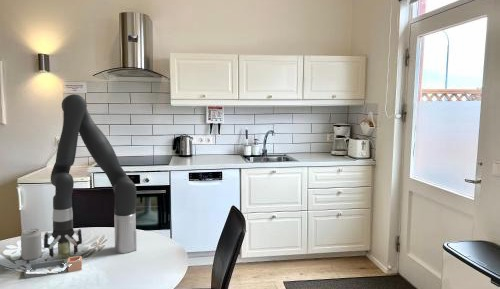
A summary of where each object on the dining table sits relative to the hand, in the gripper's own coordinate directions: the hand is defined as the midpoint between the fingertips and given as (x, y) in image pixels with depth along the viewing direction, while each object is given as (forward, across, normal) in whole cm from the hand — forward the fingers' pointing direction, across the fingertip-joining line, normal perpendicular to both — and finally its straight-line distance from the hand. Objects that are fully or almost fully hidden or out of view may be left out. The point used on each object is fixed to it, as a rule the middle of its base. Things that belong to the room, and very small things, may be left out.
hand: (63, 255), depth 151 cm
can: (+3, +13, -8) cm, 15 cm away
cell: (+2, 0, 0) cm, 2 cm away
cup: (+2, -5, +10) cm, 11 cm away
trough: (+2, +5, +8) cm, 10 cm away
